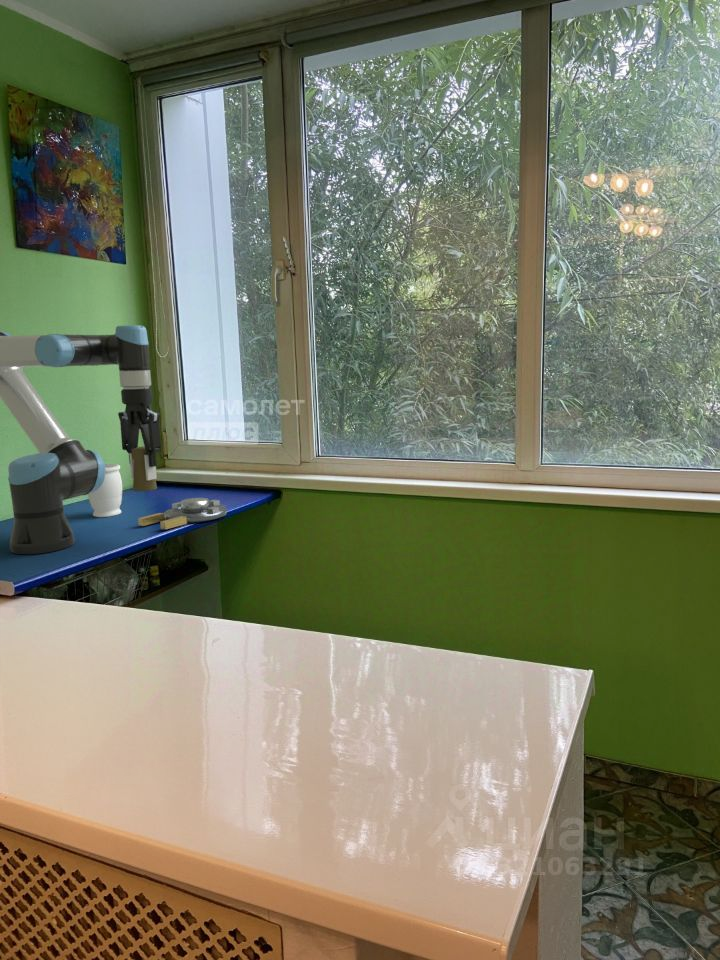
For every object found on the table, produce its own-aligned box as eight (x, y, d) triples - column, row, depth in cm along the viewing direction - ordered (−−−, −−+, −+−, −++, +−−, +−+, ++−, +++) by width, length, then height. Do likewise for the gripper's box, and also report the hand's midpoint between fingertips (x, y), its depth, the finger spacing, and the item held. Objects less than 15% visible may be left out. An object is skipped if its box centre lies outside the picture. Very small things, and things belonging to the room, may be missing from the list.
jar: (117, 517, 212) (112, 468, 209) (83, 519, 212) (78, 469, 209) (129, 510, 222) (125, 463, 220) (97, 511, 222) (92, 464, 220)
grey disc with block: (197, 506, 221) (196, 492, 220) (239, 512, 210) (238, 497, 210) (131, 524, 200) (129, 508, 200) (173, 530, 190) (172, 514, 189)
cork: (144, 492, 178) (140, 449, 176) (127, 490, 182) (124, 447, 180) (162, 487, 183) (158, 445, 182) (146, 486, 187) (142, 444, 185)
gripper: (172, 387, 176) (179, 478, 180) (126, 387, 186) (133, 473, 190) (147, 388, 170) (155, 483, 174) (101, 388, 180) (109, 478, 184)
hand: (144, 478), depth 182 cm, fingers closed on cork, 5 cm apart
